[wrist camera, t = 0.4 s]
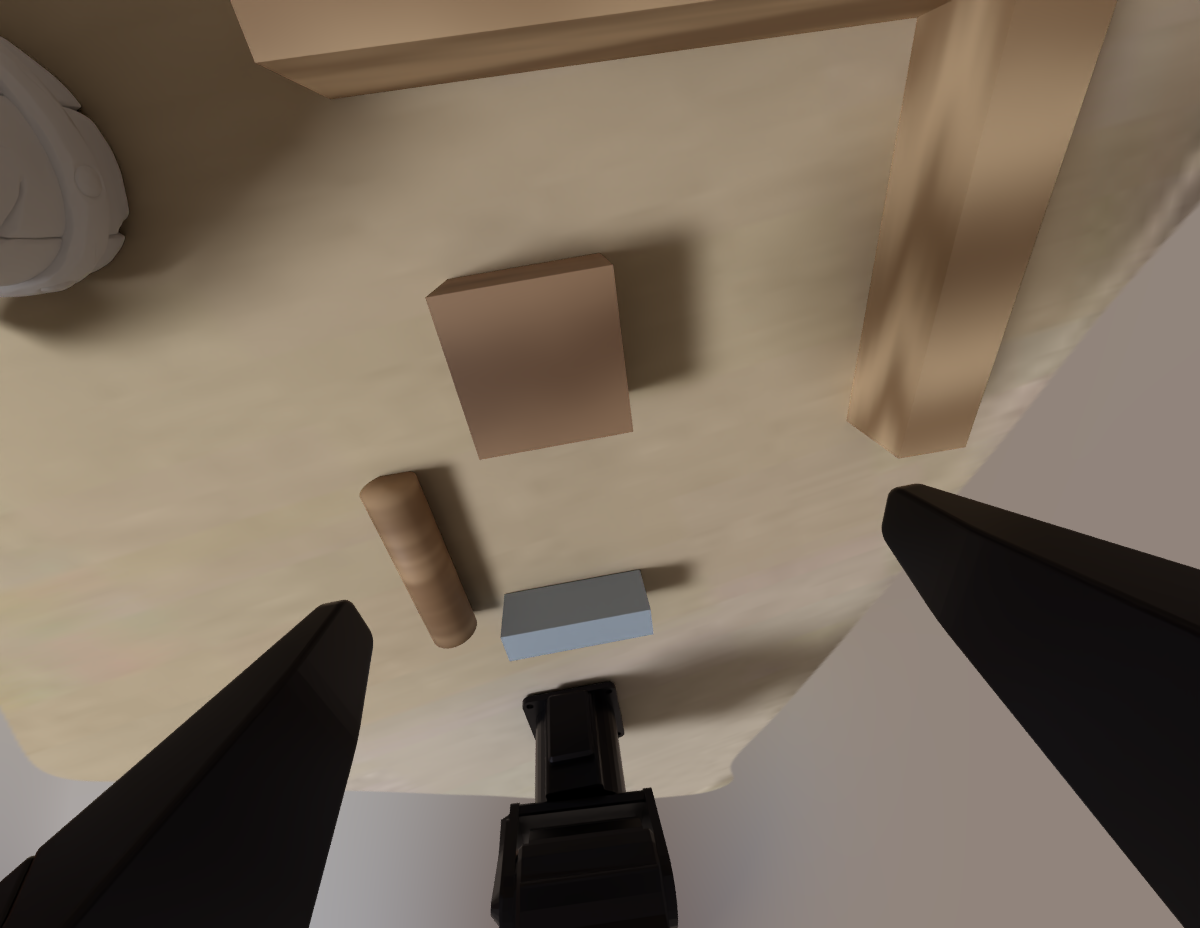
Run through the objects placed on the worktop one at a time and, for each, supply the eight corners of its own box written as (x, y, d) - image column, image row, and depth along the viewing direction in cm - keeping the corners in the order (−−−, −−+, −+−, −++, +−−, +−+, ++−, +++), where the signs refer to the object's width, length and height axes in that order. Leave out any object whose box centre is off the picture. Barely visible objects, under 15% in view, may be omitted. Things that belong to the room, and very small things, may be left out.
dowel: (479, 608, 27) (472, 644, 24) (438, 615, 27) (427, 651, 24) (422, 467, 21) (407, 497, 19) (371, 475, 21) (350, 505, 19)
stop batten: (642, 593, 27) (653, 634, 25) (512, 617, 27) (509, 661, 24) (639, 569, 26) (650, 609, 24) (504, 594, 26) (500, 637, 23)
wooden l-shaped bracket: (901, 410, 23) (974, 452, 19) (463, 483, 22) (447, 543, 18) (1033, -129, 14) (1229, -262, 10) (286, -33, 13) (177, -133, 9)
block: (618, 393, 21) (633, 431, 17) (490, 416, 21) (479, 459, 17) (599, 252, 18) (612, 264, 14) (448, 278, 17) (425, 297, 14)
